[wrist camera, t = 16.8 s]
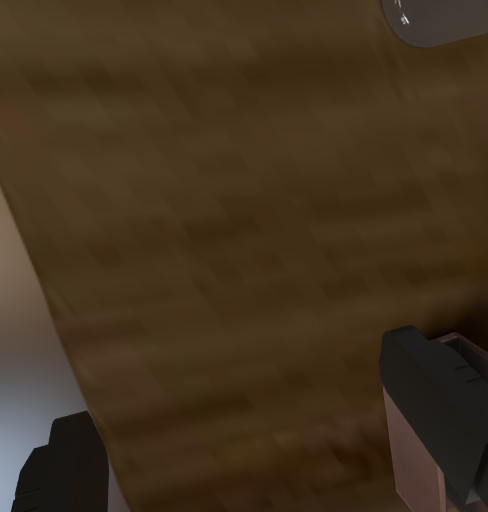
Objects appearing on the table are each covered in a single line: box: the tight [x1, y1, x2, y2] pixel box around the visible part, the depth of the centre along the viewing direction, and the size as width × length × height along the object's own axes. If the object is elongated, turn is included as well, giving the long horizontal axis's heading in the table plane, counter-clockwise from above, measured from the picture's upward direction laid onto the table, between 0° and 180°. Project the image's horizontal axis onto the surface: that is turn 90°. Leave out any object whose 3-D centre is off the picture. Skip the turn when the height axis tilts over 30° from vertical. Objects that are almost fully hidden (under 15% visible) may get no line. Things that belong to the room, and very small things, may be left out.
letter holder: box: [379, 332, 488, 512], centre depth 42 cm, size 10×20×14 cm, turn 13°
